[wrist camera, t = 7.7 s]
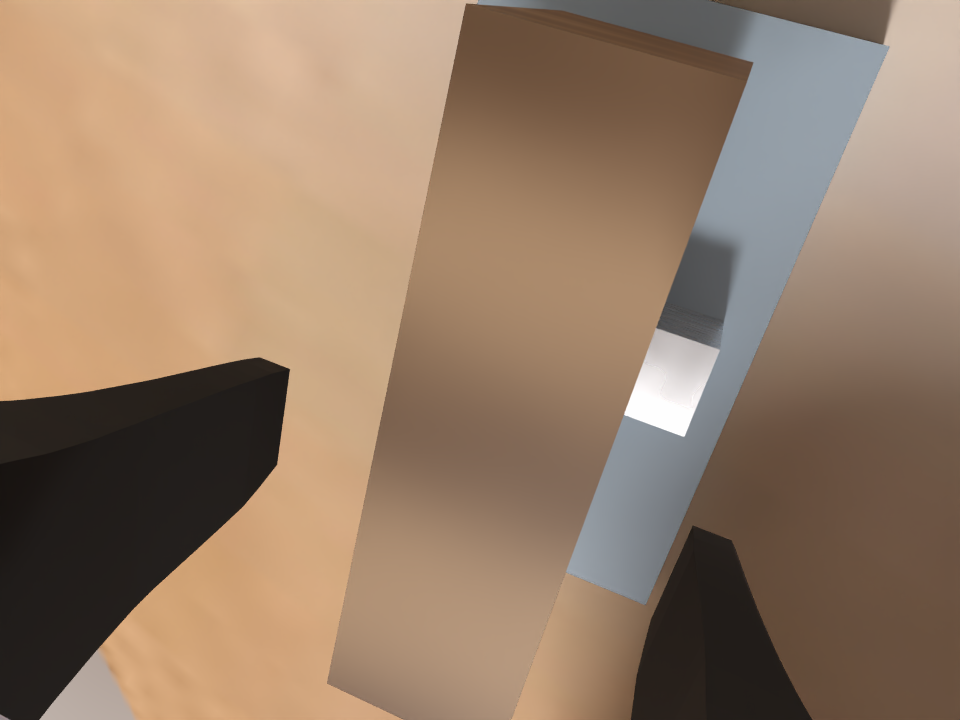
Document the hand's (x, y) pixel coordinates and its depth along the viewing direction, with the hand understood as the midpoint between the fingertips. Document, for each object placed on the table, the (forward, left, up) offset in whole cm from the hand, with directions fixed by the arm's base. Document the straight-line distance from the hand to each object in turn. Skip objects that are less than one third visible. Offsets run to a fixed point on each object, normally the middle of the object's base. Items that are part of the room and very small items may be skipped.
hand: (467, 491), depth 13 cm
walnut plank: (0, 0, -7) cm, 7 cm away
